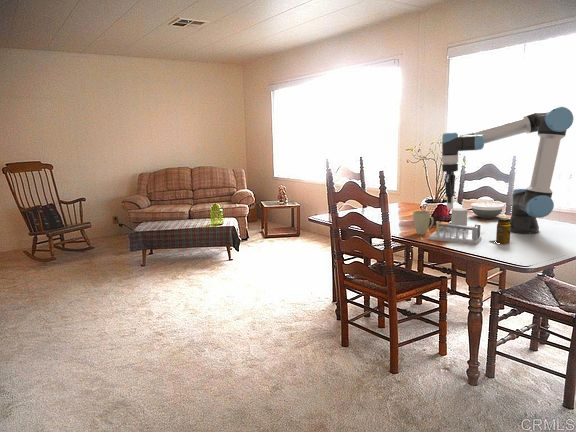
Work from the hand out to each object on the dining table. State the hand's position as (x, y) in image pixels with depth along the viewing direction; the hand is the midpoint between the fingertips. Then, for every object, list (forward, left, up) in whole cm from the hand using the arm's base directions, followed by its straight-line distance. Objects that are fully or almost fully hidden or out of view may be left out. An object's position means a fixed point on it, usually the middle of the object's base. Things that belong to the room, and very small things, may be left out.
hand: (449, 208), depth 215 cm
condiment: (-25, 0, -16) cm, 29 cm away
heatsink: (-4, +3, -15) cm, 16 cm away
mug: (+14, -2, -16) cm, 21 cm away
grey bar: (-5, +3, -10) cm, 12 cm away
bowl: (-8, -60, -16) cm, 62 cm away
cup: (-1, -18, -16) cm, 24 cm away
